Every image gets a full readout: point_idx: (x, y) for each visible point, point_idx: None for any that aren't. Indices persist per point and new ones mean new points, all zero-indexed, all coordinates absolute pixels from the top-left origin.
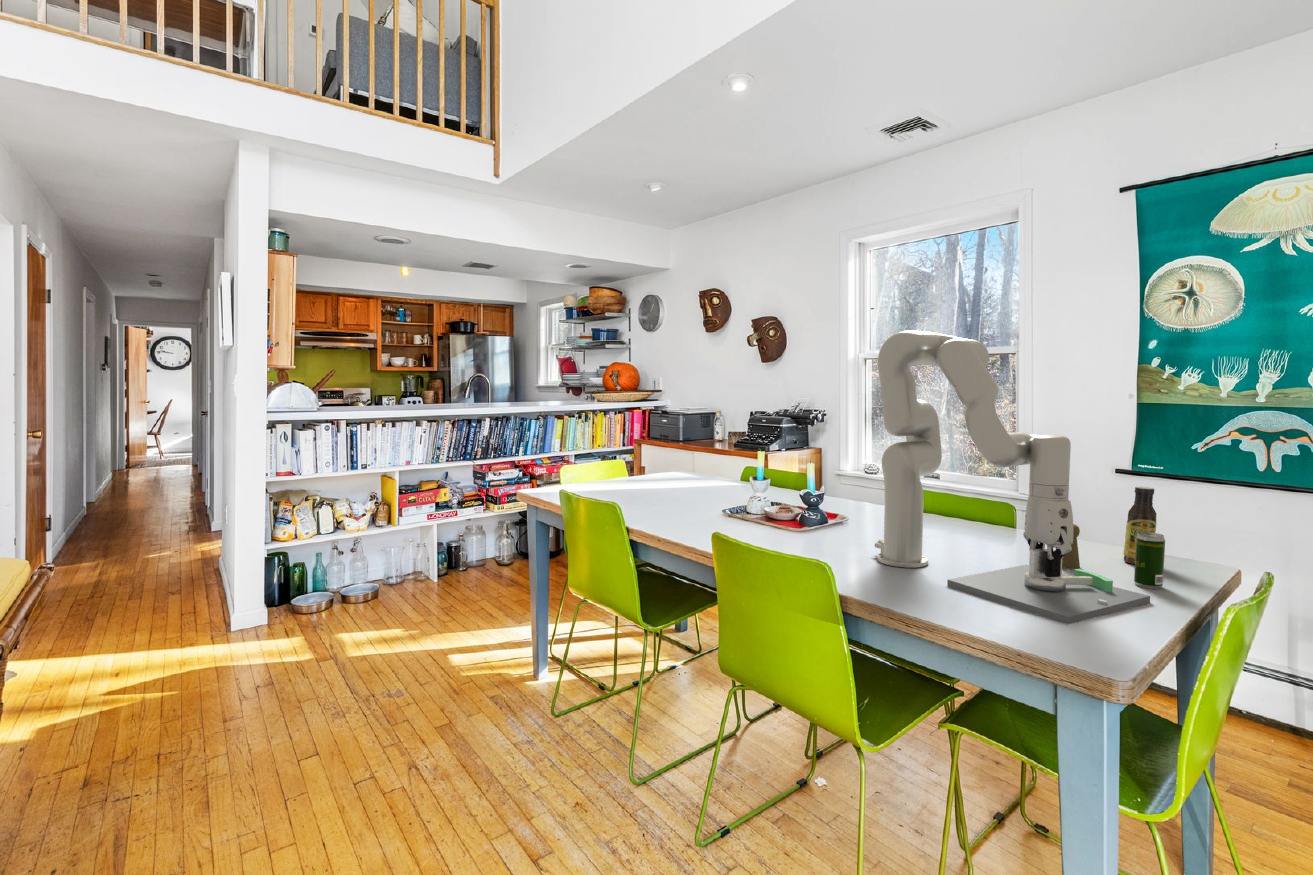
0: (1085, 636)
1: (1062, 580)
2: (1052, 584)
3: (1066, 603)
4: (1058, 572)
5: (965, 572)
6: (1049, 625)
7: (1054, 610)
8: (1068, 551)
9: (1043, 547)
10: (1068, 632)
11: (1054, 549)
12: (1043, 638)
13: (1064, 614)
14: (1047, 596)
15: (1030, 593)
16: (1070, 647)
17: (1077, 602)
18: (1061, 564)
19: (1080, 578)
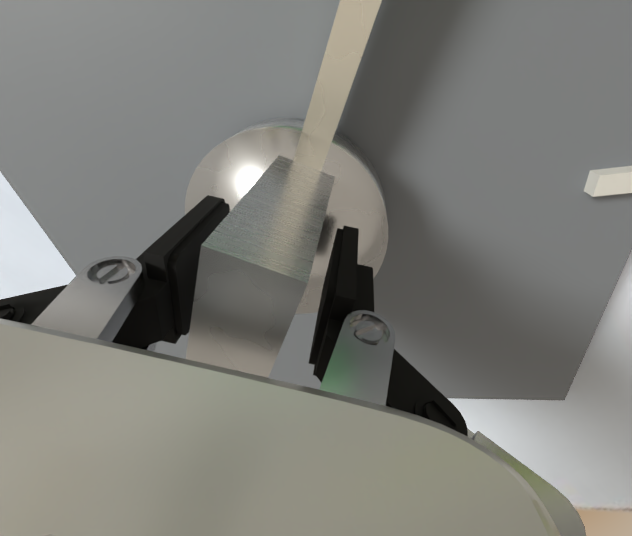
0: (628, 409)
1: (373, 213)
2: None
3: (489, 310)
4: (370, 271)
5: (5, 245)
6: (518, 410)
7: (503, 387)
8: (524, 478)
9: (128, 309)
10: (579, 414)
11: (215, 287)
12: (551, 462)
13: (545, 394)
14: (396, 301)
15: None
16: (620, 465)
17: (512, 267)
18: (323, 218)
19: (376, 11)
